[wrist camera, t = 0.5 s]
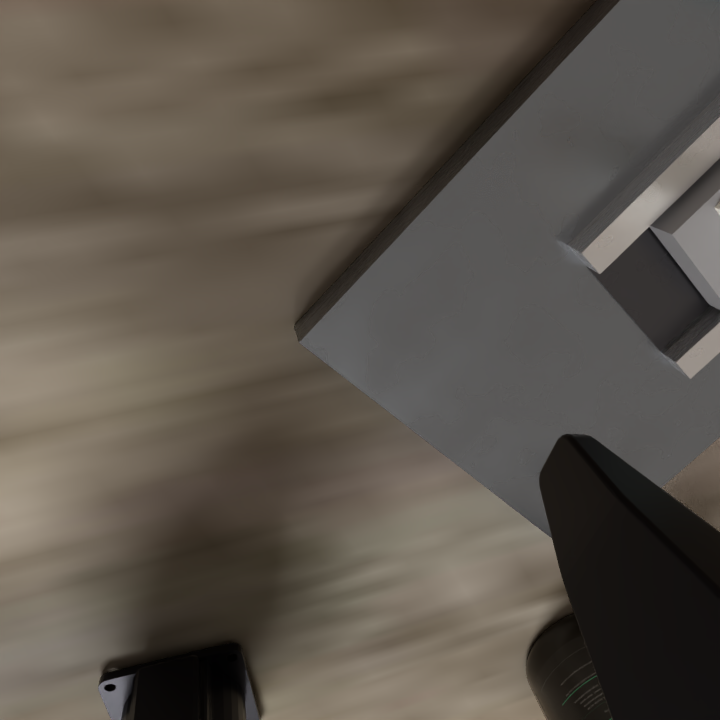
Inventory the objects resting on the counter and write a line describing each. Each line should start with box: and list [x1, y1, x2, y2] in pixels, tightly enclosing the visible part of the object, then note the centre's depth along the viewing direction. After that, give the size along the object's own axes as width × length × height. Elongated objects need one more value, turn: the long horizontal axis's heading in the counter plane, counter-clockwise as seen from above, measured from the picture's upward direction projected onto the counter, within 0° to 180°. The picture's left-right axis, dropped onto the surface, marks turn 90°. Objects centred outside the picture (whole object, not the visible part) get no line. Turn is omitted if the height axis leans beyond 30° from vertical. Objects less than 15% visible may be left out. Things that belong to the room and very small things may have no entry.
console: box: [294, 0, 720, 538], centre depth 25 cm, size 24×18×2 cm
